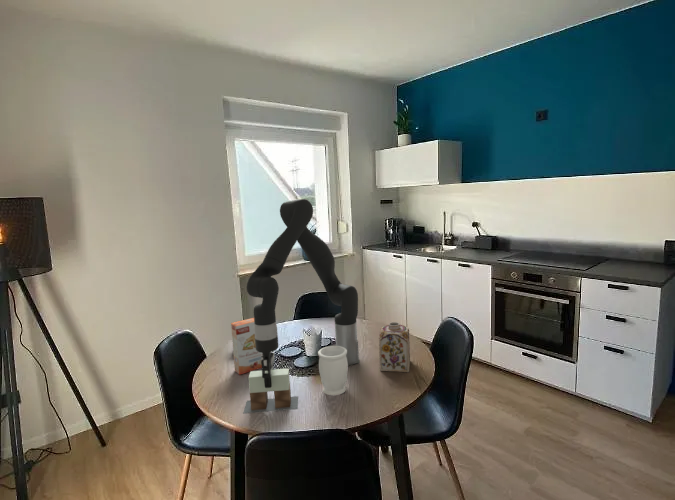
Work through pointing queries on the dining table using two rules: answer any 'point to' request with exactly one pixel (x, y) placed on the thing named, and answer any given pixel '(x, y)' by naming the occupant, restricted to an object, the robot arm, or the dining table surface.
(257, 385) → the plank
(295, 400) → the mat
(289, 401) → the pillar
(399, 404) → the dining table surface
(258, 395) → the pillar
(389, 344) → the decorative jar
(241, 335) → the cracker box
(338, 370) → the jar
